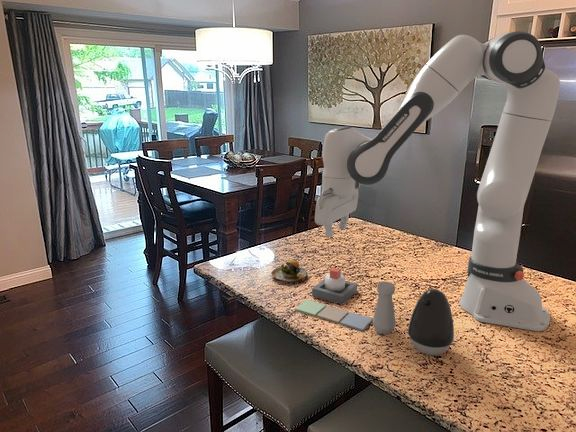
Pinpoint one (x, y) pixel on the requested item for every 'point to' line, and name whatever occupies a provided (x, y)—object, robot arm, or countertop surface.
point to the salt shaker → (384, 309)
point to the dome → (335, 281)
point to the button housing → (332, 296)
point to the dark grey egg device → (431, 323)
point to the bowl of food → (290, 272)
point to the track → (334, 315)
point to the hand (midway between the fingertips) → (336, 232)
